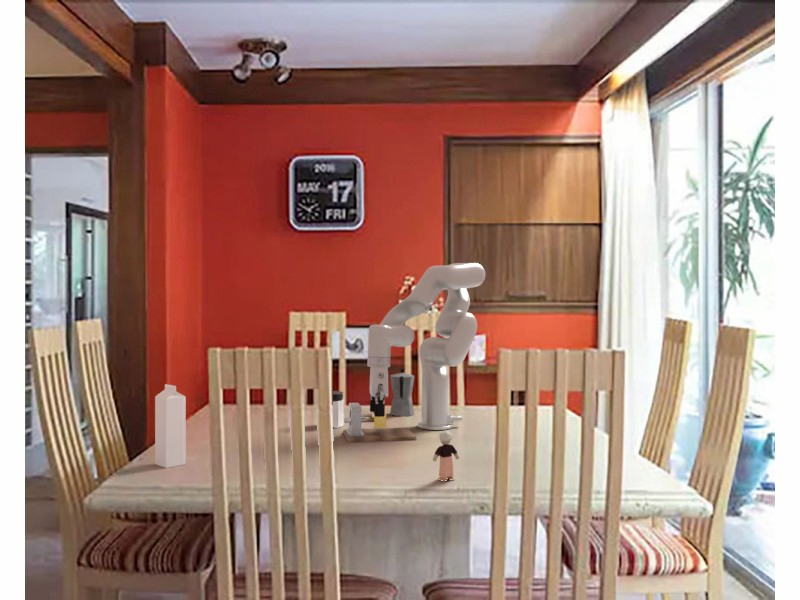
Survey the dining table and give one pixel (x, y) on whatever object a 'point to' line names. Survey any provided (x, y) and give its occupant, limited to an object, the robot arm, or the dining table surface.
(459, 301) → the robot arm
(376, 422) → the yellow block headed rod
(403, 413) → the coffeepot
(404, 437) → the copper board
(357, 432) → the brushed steel socket base
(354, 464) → the dining table surface
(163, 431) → the milk
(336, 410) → the jar
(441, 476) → the grandmother figurine
